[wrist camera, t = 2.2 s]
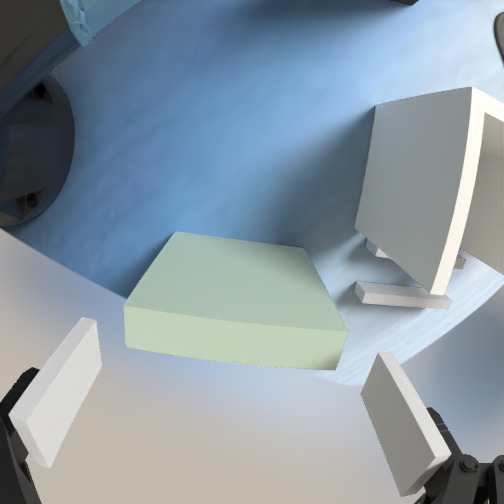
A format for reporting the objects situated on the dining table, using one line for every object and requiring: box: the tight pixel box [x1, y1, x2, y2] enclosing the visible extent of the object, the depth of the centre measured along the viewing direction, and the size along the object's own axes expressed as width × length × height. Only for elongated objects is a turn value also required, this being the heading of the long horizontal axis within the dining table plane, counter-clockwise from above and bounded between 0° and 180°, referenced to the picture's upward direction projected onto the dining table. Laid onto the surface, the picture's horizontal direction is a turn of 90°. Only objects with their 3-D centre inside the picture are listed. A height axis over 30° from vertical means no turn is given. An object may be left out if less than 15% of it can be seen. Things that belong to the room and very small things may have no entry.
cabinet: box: [354, 87, 504, 309], centre depth 20 cm, size 13×17×13 cm
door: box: [123, 232, 349, 370], centre depth 21 cm, size 11×4×13 cm, turn 82°
